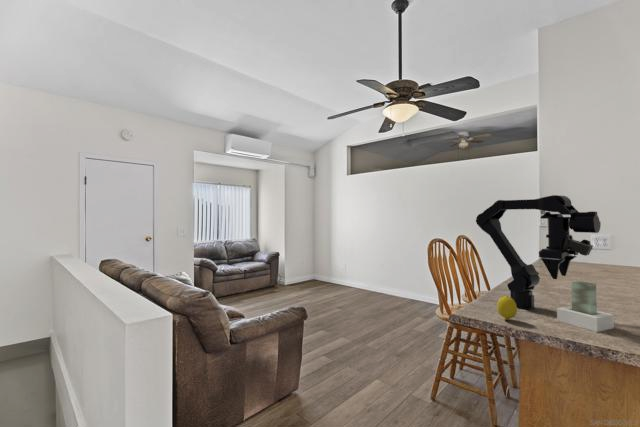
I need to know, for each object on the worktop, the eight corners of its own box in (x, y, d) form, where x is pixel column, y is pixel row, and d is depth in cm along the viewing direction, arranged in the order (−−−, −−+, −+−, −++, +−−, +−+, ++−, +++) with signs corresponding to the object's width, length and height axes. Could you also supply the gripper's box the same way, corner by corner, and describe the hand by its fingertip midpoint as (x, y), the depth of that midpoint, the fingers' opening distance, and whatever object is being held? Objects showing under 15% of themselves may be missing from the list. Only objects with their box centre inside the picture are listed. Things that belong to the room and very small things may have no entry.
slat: (572, 322, 96) (571, 281, 96) (578, 320, 97) (577, 280, 97) (591, 327, 91) (590, 284, 91) (597, 326, 92) (596, 283, 92)
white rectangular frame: (557, 320, 97) (556, 308, 97) (573, 317, 100) (573, 305, 100) (597, 332, 87) (596, 318, 87) (613, 327, 90) (613, 314, 90)
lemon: (493, 317, 101) (493, 293, 101) (510, 317, 101) (510, 293, 101) (503, 322, 95) (503, 297, 96) (521, 322, 95) (520, 297, 95)
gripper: (581, 233, 90) (582, 285, 90) (597, 231, 101) (598, 277, 101) (537, 232, 99) (538, 279, 99) (556, 230, 110) (557, 272, 110)
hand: (559, 277), depth 102 cm, fingers open, 9 cm apart
